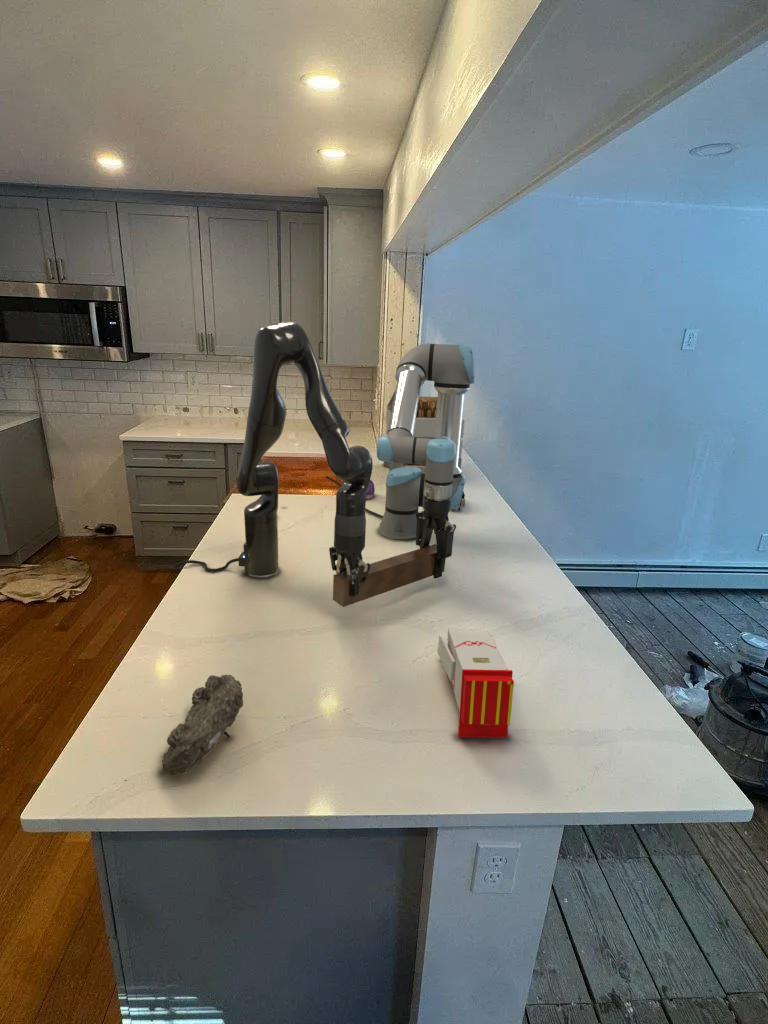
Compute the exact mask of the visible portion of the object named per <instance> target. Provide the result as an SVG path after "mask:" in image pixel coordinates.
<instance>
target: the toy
mask: <svg viewBox="0 0 768 1024" xmlns="http://www.w3.org/2000/svg"><path fill="white" fill-rule="evenodd" d="M446 640H447V643H446V641H445V639H444V636H443V635H442V634H439V637H438V646H437V656H438V657H439V659H440V661H441V663H442V666H443V668H444V670H445V672H446V674H447V677H448V679H449V681H450V684H451V687H452V690H453V693H454V697H455V701H456V705H457V708H458V711H459V714H458V715H459V716H458V730H457V731H458V732H457V737H458V738H508V731H509V726H510V725H511V717H512V707H513V697H514V696H513V695H514V684H515V680H514V679H513V673H514V671H513V670H512V669H508V667H507V665H506V662H505V661H504V659H503V658H502V655H501V653H500V651H499V649H498V647H497V643H496V639H495V637H494V635H493V634H491V632H490V631H489V629H467V628H466V629H465V628H463V629H461V628H460V629H459V628H448V630H447V639H446Z"/></svg>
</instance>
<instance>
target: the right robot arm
mask: <svg viewBox="0 0 768 1024" xmlns="http://www.w3.org/2000/svg"><path fill="white" fill-rule="evenodd" d="M474 352H475V351H474V349H473V347H471V346H469V345H463V344H443V343H429V342H426V343H421V344H418V345H415V346H413V348H411V349H410V350H409V351H407V352H406V353H405V354H404V355H403V357H401V359H400V361H399V362H398V364H397V367H396V369H395V373H394V374H395V375H394V377H395V381H396V386H395V390H396V391H395V390H394V392H395V396H394V401H393V406H392V411H391V416H390V421H389V427H388V432H387V435H386V434H381V435H379V436H378V438H377V440H376V441H377V442H376V458H377V460H378V461H380V462H383V463H384V462H391V463H393V462H394V463H409V464H419V465H426V466H425V472H422V469H421V468H420V467H419V466H418V467H417V466H404V467H400V468H396V469H393V470H391V471H390V470H389V471H388V473H387V475H386V482H385V504H384V505H385V507H384V508H385V509H384V513H383V515H382V514H379V513H377V512H375V511H372V510H370V509H368V508H366V507H365V512H366V513H368V514H371V515H373V516H375V517H378V518H381V522H379V527H378V533H379V534H380V535H381V536H382V537H385V538H387V539H389V540H395V541H410V540H415V545H416V546H418V547H419V549H420V548H424V547H427V546H430V545H431V544H430V543H431V539H432V536H433V534H434V535H435V541H436V542H435V544H436V545H437V556H436V557H435V565H434V575H433V576H432V577H433V579H434V580H436V579H439V578H442V577H443V572H442V571H443V568H444V566H445V567H446V560H445V558H446V559H448V558H450V557H452V555H453V546H454V538H455V537H454V536H455V531H456V529H457V524H456V523H453V524H452V523H451V522H450V518H449V513H450V511H451V510H452V509H453V510H457V509H458V507H459V505H460V502H461V498H462V494H463V491H464V488H465V483H466V477H465V476H464V475H463V474H462V473H463V471H462V468H461V469H460V468H459V467H458V459H459V447H460V439H461V438H460V436H461V425H462V419H463V414H464V413H463V412H464V403H465V394H466V393H467V392H468V391H470V388H471V385H472V384H475V382H476V381H475V379H476V378H475V353H474ZM425 381H428V382H433V388H434V389H435V391H436V392H437V397H438V400H437V412H436V425H435V438H434V439H429V438H416V437H413V433H414V427H415V420H416V414H417V408H418V401H419V397H420V395H421V389H422V386H424V384H425ZM325 479H327V480H329V481H330V482H333V483H334V484H336V485H337V486H339V488H340V487H341V486H342V485H343V484H341V483H340V482H338V481H337V480H335V479H333V478H332V477H330V476H328V475H326V476H325ZM420 507H421V508H422V510H421V511H419V508H420Z"/></svg>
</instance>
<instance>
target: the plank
mask: <svg viewBox="0 0 768 1024" xmlns="http://www.w3.org/2000/svg"><path fill="white" fill-rule="evenodd" d="M429 545H430V546H427V547H424V548H420V547H419V548H417V549H414V550H411V551H408V552H407V551H406V552H405V553H404V552H403V553H402V554H398V555H394V556H391V557H388V558H385V559H381V560H378V561H375V562H372V563H369V564H370V569H369V573H368V576H367V580H366V583H362V584H360V585H359V595H358V596H356V597H353V598H352V597H351V596H350V584H351V581H350V576H349V575H348V573H347V571H345V572H342V573H338V574H336V573H335V574H333V579H332V580H333V581H332V601H333V602H335V603H337V604H338V605H339V606H341V607H342V608H346V607H348V606H351V605H354V604H356V603H359V602H362V601H365V600H368V599H371V598H373V597H376V596H379V595H383V594H385V593H389V592H391V591H395V590H396V589H400V588H402V587H404V586H408V585H411V584H414V583H416V582H419V581H421V580H424V579H425V580H426V579H427V578H430V577H434V565H435V557H436V556H437V545H436V543H433V544H429ZM446 559H447V558H445V561H446ZM445 568H446V565H445V566H444V568H443V571H442V573H444V572H445ZM354 570H356V569H353V570H352V571H354ZM354 579H356V574H355V575H354Z"/></svg>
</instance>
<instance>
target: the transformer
mask: <svg viewBox="0 0 768 1024" xmlns="http://www.w3.org/2000/svg"><path fill="white" fill-rule="evenodd" d="M395 391H396V389H395V390H394V392H393V394H392V395H391V398H390V400H389V402H388V404H387V405H386V413H385V414H386V415H385V423H386V428H385V435H387V432H388V427H389V421H390V416H391V411H392V406H393V401H394V396H395ZM437 400H438V396H419V401H418V408H417V414H416V420H415V427H414V433H413V437H416V438H429V439H434V438H435V425H436V412H437ZM464 429H465V419H464V418H462V425H461V436H460V447H459V459H458V467H459V468H460V469H461V470H462V461H463V460H462V453H463V442H464V441H463V440H462V439H463V438H464V431H465V430H464ZM383 466H384V467H388V468H389V472H390V471H391V470H393V469H396V468H400V467H405V466H406V467H417V466H418V467H426V465H419V464H409V463H394V462H393V463H391V462H384V461H383Z"/></svg>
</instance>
